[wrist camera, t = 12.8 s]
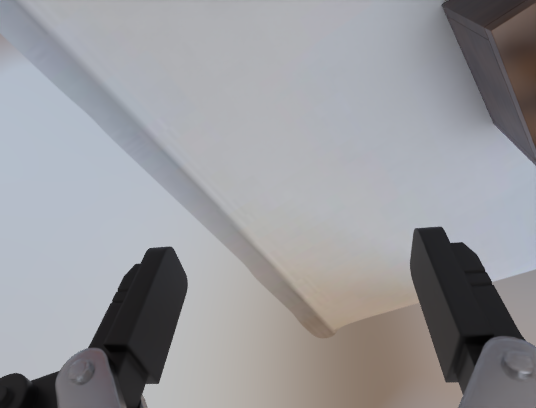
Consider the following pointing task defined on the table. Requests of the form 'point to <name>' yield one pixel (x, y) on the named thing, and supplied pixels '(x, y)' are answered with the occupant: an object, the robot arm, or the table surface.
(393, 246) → the table surface
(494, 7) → the block
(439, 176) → the table surface
